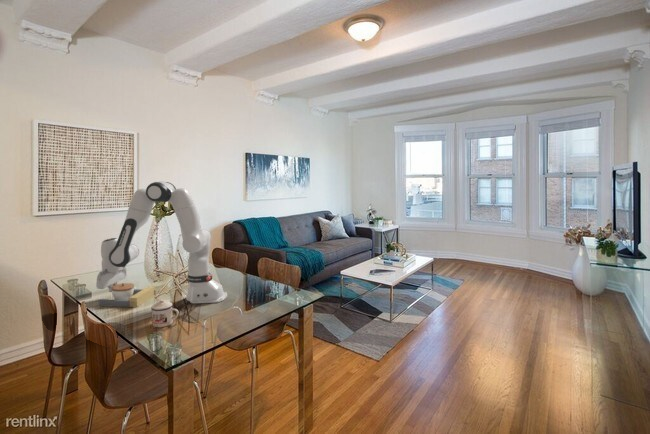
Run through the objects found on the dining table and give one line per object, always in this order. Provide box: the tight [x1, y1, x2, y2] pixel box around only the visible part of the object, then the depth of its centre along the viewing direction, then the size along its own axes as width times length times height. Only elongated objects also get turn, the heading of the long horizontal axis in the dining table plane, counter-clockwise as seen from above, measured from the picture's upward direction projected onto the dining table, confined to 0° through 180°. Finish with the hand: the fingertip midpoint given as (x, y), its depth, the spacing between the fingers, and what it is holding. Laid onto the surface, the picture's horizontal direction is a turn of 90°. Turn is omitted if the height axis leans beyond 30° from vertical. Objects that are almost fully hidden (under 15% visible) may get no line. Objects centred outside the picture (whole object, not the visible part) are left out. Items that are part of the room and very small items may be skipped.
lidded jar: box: [111, 282, 135, 300], centre depth 187 cm, size 11×11×9 cm
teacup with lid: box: [150, 299, 180, 328], centre depth 159 cm, size 12×9×12 cm
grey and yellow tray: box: [98, 285, 156, 308], centre depth 187 cm, size 21×18×5 cm
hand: (112, 291), depth 187 cm, fingers closed, pressing on lidded jar
